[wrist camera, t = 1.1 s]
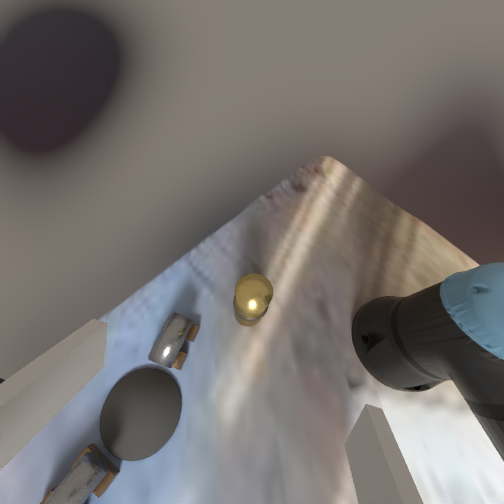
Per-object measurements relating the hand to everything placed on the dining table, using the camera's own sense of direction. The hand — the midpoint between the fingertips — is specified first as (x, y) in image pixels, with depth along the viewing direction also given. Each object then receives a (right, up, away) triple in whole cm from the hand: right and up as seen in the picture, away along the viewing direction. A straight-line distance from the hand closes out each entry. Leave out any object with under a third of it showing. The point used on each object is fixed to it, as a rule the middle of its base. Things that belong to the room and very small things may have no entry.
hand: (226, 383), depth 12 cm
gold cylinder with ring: (+1, -4, +30) cm, 30 cm away
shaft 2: (-11, -8, +27) cm, 30 cm away
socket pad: (-15, -16, +22) cm, 31 cm away
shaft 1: (-20, -24, +18) cm, 36 cm away
